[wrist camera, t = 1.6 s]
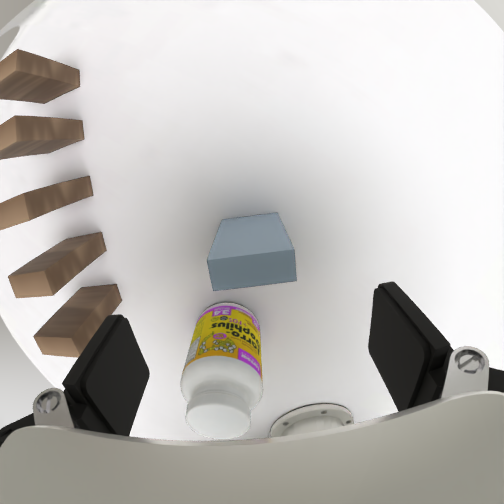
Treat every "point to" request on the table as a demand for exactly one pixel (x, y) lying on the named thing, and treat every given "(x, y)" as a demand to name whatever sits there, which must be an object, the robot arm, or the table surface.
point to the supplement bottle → (223, 372)
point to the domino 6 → (251, 253)
